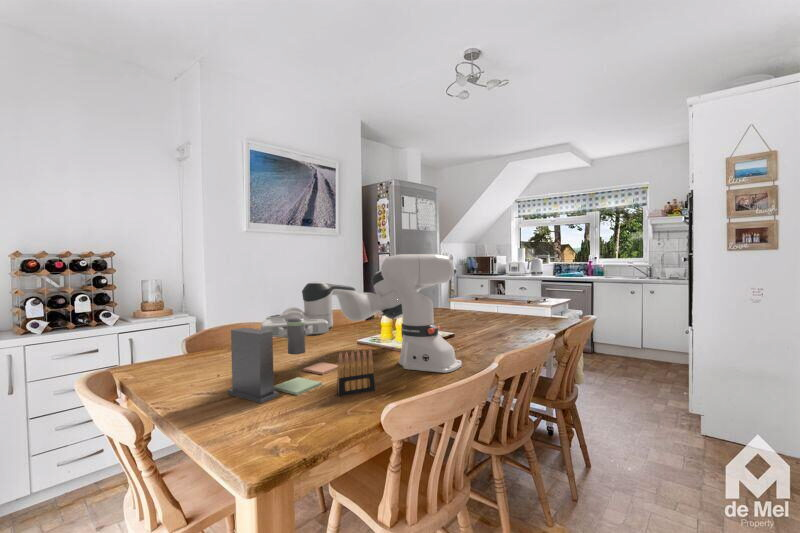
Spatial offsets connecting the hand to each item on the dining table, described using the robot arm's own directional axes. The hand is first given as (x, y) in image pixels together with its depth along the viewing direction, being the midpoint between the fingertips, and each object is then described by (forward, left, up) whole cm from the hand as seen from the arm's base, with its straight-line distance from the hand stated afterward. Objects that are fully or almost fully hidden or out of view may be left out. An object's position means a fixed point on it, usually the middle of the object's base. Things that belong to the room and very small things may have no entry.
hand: (296, 332), depth 114 cm
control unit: (+7, +10, -16) cm, 21 cm away
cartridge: (+1, -1, -6) cm, 6 cm away
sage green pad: (+1, -1, -16) cm, 16 cm away
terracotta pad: (+7, -18, -16) cm, 25 cm away
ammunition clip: (-17, -6, -17) cm, 25 cm away
